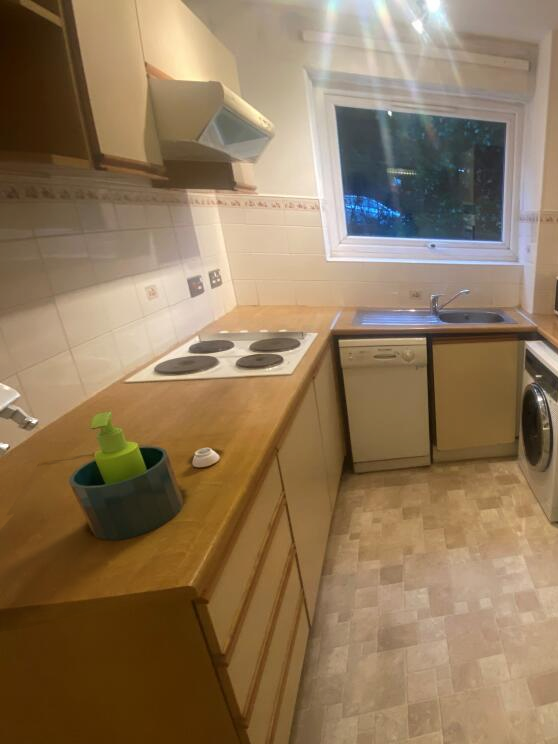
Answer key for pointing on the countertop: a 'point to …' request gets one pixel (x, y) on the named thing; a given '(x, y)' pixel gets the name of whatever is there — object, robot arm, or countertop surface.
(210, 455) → the white bowl
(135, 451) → the soap dispenser
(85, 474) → the canister
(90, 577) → the countertop surface
